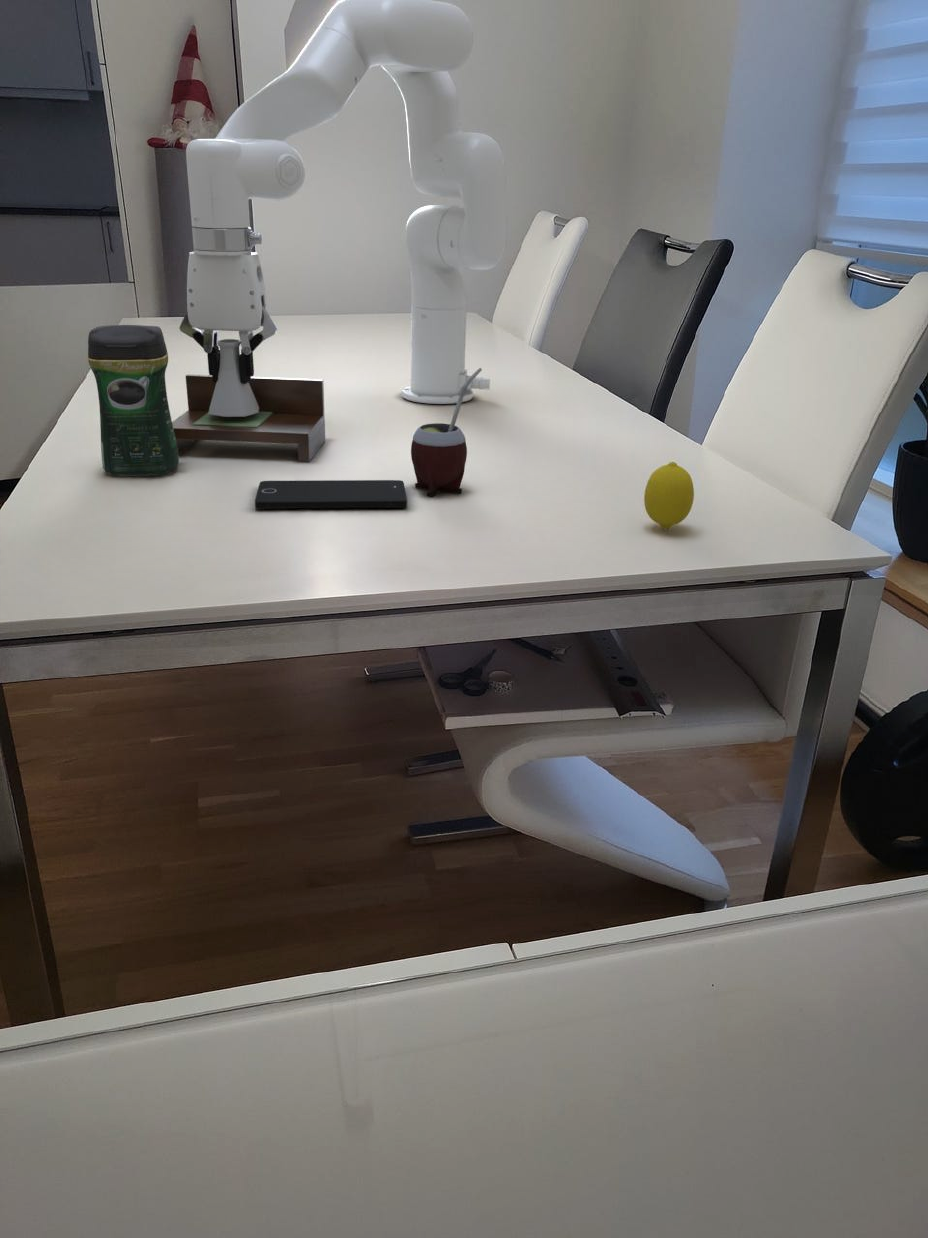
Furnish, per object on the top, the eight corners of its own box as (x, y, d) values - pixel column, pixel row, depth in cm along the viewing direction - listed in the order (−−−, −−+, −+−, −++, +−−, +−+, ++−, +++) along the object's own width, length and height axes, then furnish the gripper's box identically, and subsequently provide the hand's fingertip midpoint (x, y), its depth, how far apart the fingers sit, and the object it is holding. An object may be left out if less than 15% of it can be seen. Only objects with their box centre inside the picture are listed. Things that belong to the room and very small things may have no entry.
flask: (248, 420, 139) (243, 346, 135) (199, 416, 140) (193, 343, 136) (267, 408, 146) (263, 338, 141) (220, 405, 147) (215, 335, 143)
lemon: (635, 521, 119) (642, 455, 116) (681, 521, 119) (689, 455, 116) (647, 537, 114) (655, 468, 111) (695, 537, 114) (704, 468, 111)
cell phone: (260, 487, 127) (260, 480, 126) (403, 486, 129) (403, 479, 128) (254, 509, 119) (254, 502, 118) (407, 508, 121) (407, 500, 120)
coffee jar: (183, 461, 137) (169, 320, 130) (175, 477, 130) (160, 330, 122) (109, 462, 136) (91, 320, 128) (97, 478, 129) (78, 329, 121)
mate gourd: (402, 493, 126) (402, 373, 120) (425, 477, 133) (426, 362, 127) (457, 501, 124) (460, 378, 118) (478, 484, 131) (482, 367, 125)
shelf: (325, 440, 149) (323, 379, 146) (309, 462, 139) (306, 396, 135) (192, 435, 150) (187, 374, 147) (166, 456, 139) (160, 391, 136)
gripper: (289, 241, 137) (295, 378, 144) (170, 238, 137) (182, 374, 145) (277, 245, 130) (284, 388, 137) (151, 242, 131) (165, 384, 138)
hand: (232, 379), depth 141 cm, fingers closed on flask, 3 cm apart
